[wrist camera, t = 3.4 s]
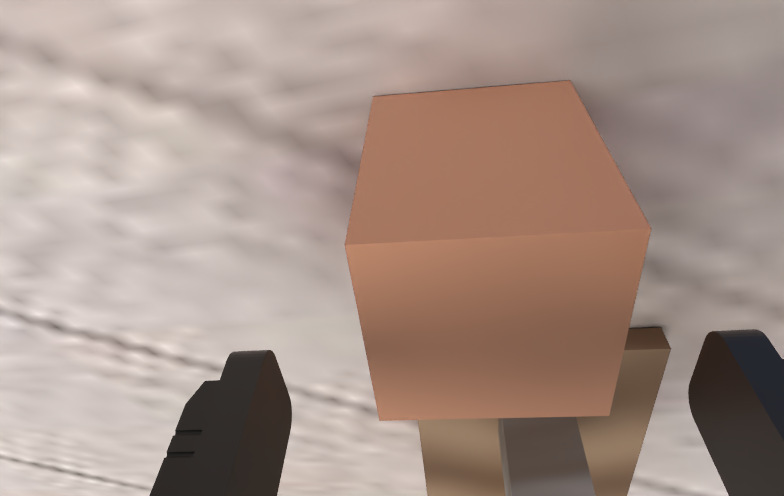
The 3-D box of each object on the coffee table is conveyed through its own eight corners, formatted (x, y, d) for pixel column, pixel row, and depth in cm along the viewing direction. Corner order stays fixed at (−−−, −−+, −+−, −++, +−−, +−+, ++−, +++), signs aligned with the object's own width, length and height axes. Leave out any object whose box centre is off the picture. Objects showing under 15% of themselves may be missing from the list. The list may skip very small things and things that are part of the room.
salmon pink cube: (373, 96, 15) (345, 245, 10) (569, 80, 14) (651, 228, 9) (392, 247, 18) (379, 420, 13) (555, 238, 18) (609, 415, 12)
